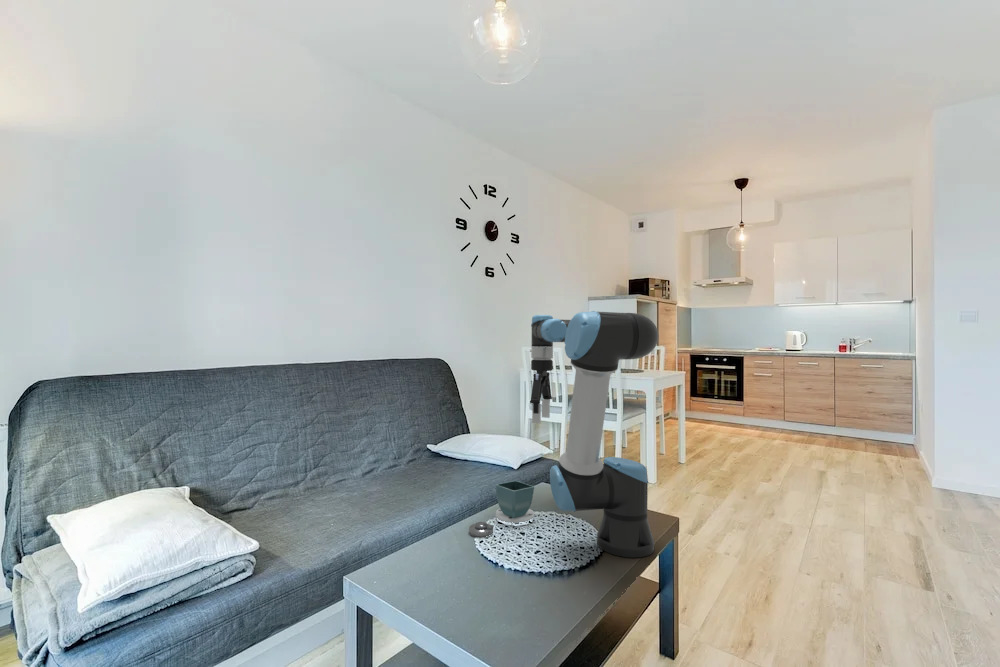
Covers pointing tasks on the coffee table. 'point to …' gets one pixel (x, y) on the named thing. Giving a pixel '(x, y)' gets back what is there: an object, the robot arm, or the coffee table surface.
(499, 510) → the grey flange
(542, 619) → the coffee table surface
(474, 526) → the small metal flange
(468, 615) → the coffee table surface
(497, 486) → the flower pot
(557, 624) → the coffee table surface
